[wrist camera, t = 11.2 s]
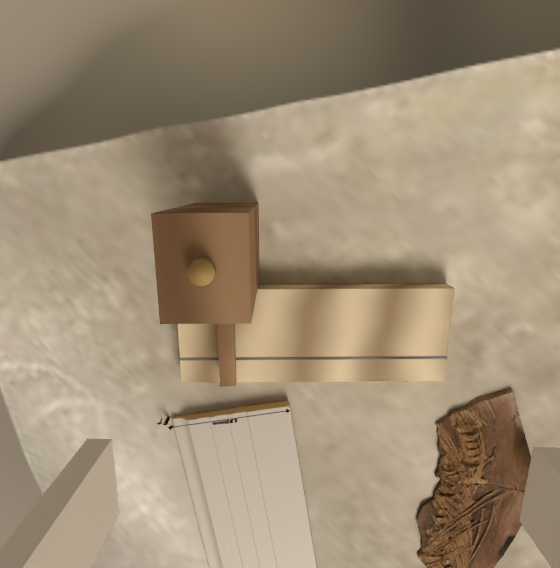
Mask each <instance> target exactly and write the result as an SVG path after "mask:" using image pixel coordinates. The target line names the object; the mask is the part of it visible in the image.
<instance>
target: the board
mask: <svg viewBox="0 0 560 568" xmlns="http://www.w3.org/2000/svg"><path fill="white" fill-rule="evenodd" d="M454 289H455V288H453V287H451V286H450V285H448V284H304V285H258V289H257V294H256V300H255V305H254V311H253V316H252V321H251V323H248V324H235V347H236V377H237V380H236V382H320V381H445V371H446V362H447V353H448V344H449V335H450V325H451V316H452V307H453V298H454ZM178 337H179V352H180V366H181V380H182V382H220V373H219V350H218V328H217V324H178Z"/></svg>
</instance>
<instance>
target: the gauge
mask: <svg viewBox="0 0 560 568" xmlns="http://www.w3.org/2000/svg"><path fill="white" fill-rule="evenodd" d="M151 218H152V230H153V243H154V255H155V267H156V279H157V291H158V304H159V316H160V324H217V328H218V350H219V373H220V386H235V385H236V380H237V377H236V347H235V324H248V323H251V321H252V316H253V311H254V305H255V300H256V294H257V289H258V284H259V278H260V271H259V209H258V203H194V204H190V205H185V206H181V207H177V208H172V209H168V210H164V211H160V212H155V213H151Z"/></svg>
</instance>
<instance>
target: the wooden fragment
mask: <svg viewBox="0 0 560 568" xmlns="http://www.w3.org/2000/svg"><path fill="white" fill-rule="evenodd" d="M435 425H436V426H437V427H438V431H437V434H438V438H439V443H438V450H439V454H440V456H441V458H440V462H439V463H438V469H437V471H436V474H435V476H436V477H439V478H441V480H440V482H439V484H438V486H437V487H436V490H435V494H434V496H433V498H432V499H429V500H428V501H427V502H426V504H425V505H424V506H422V509H421V510H420V513H419V516H418V520H417V523H418V525H419V527H420V534H421V539H422V543H421V546H422V547H421V550H420V551H419V552H418V558H419V559H420V560H421V561H422V562H423V563H424V564H425V565H426V567H427V568H494V567H495V565H496V563H497V562H498V561H499V560H500V559H501V557H502V556H503V555H504V553H505V551H506V550H507V548H508V547H509V545H510V544H511V542H512V541H513V539H514V538H515V536H516V534H517V532H518V531H519V529H520V527H521V525H522V524H521V523H520V521H519V520H520V515H521V510H522V504H523V499H524V494H525V488H526V483H527V478H528V472H529V467H530V462H531V458H530V457H531V456H530V453H529V449H528V445H527V442H526V439H525V434H524V432H523V428H522V425H521V420H520V418H519V413H518V411H517V406H516V402H515V398H514V394H513V392H512V390H511V388H509V389H506V390H503V391H500V392H496V393H493V394H490V395H484V396H480V397H477V398H475V399H474V400H472V401H471V402H470V403H469V404H468V405H466V406H464V407H461V408H459V409H455V410H452V411H451V412H450V414H449V416H447V417H445V418H444V419H442V420H440V421H438V422H437V423H436V424H435Z"/></svg>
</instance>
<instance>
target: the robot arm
mask: <svg viewBox="0 0 560 568" xmlns="http://www.w3.org/2000/svg"><path fill="white" fill-rule="evenodd" d="M118 514H119V505H118V495H117V485H116V476H115V466H114V457H113V447H112V439H87V440H86V441H85V442H84V444H83V445H82V446H81V448H80V449H79V450H78V451H77V453H76V454H75V455H74V456H73V458H72V459H71V460H70V461H69V463H68V464H67V465H66V467H65V468H64V469H63V470H62V472H61V473H60V474H59V475H58V477H57V478H56V479H55V480H54V482H53V483H52V484H51V486H50V487H49V488H48V489H47V491H46V492H45V493H44V494H43V496H42V497H41V498H40V500H39V501H38V502H37V503H36V505H35V506H34V507H33V508H32V510H31V511H30V512H29V514H28V515H27V516H26V517H25V518H24V520H23V521H22V522H21V523H20V525H19V526H18V527H17V529H16V530H15V531H14V533H13V534H12V535H11V536H10V537H9V539H8V540H7V541H6V543H5V544H4V545H3V546H2V548H1V549H0V568H91V567H92V565H93V563H94V561H95V559H96V557H97V555H98V553H99V551H100V549H101V547H102V545H103V543H104V541H105V539H106V537H107V535H108V533H109V531H110V530H111V528H112V526H113V524H114V522H115V520H116V518H117V516H118ZM519 521H520V523H521V524H522V525H523V527H524V528H525V530H526V531H527V533H528V534H529V535H530V537H531V538H532V540H533V541H534V543H535V544H536V546H537V547H538V548H539V550H540V551H541V553H542V554H543V556H544V557H545V558H546V560H547V561H548V563H549V564H550V566H551V567H552V568H560V449H559V448H546V447H533V451H532V456H531V462H530V467H529V472H528V478H527V483H526V488H525V494H524V499H523V504H522V510H521V515H520V520H519Z"/></svg>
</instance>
